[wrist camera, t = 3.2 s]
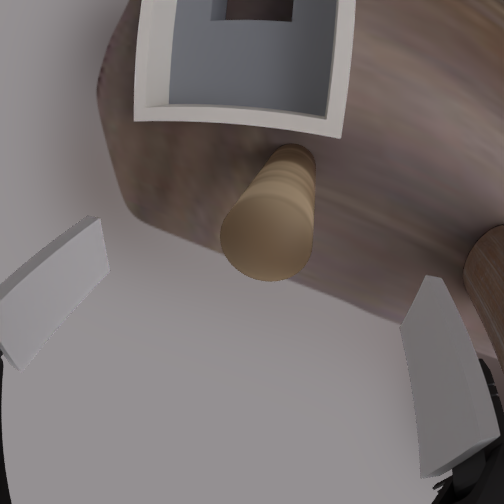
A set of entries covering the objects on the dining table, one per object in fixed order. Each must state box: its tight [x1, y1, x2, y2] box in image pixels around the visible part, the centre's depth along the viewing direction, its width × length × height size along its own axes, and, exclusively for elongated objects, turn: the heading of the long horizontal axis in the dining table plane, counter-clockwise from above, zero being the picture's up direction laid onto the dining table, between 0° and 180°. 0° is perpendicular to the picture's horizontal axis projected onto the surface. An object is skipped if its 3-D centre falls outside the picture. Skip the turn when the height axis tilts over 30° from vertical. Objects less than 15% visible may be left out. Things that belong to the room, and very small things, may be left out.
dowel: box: [220, 144, 316, 281], centre depth 18 cm, size 4×4×14 cm
